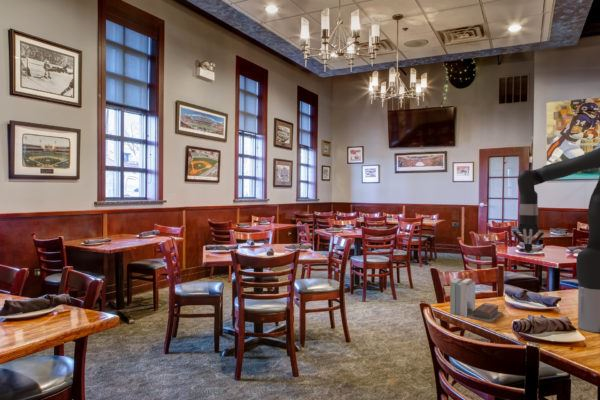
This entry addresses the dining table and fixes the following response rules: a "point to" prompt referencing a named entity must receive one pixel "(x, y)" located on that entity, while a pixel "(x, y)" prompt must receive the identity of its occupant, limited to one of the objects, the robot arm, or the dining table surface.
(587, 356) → the dining table surface
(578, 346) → the dining table surface
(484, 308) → the packaged product
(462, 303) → the book row
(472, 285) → the bookend
